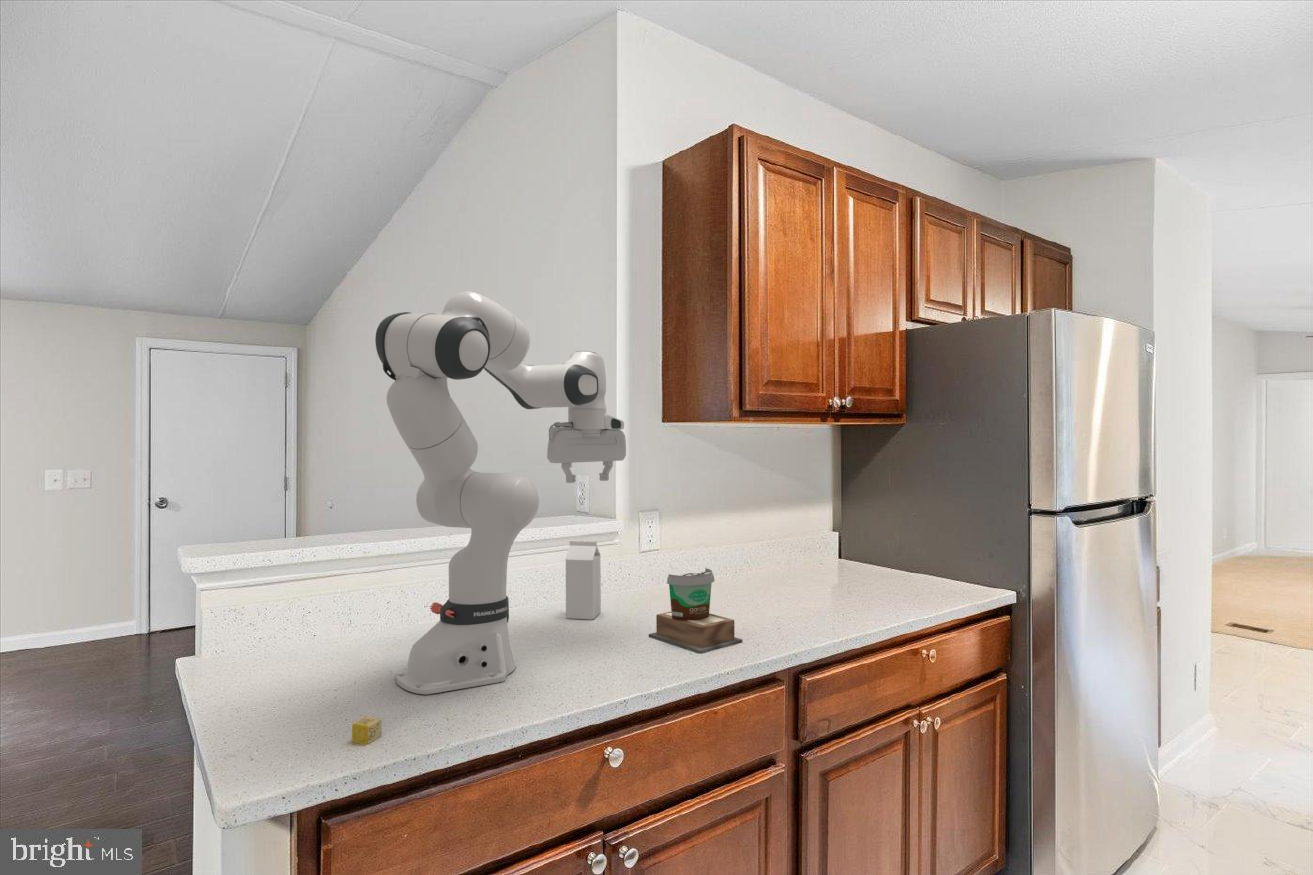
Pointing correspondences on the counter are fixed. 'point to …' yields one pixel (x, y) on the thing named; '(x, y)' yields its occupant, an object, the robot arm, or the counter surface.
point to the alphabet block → (366, 730)
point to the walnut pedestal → (696, 632)
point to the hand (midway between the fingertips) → (587, 481)
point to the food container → (690, 595)
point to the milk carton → (583, 580)
